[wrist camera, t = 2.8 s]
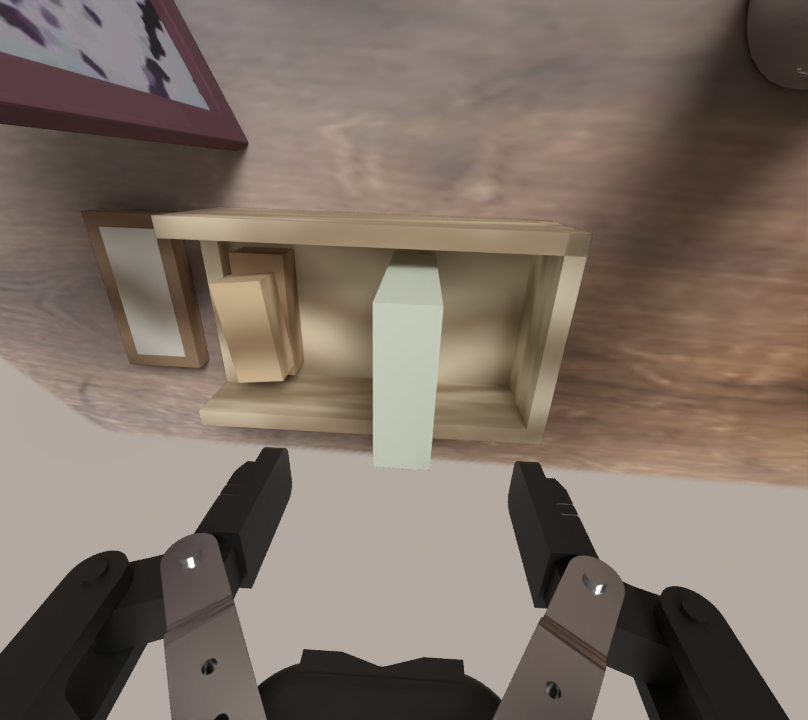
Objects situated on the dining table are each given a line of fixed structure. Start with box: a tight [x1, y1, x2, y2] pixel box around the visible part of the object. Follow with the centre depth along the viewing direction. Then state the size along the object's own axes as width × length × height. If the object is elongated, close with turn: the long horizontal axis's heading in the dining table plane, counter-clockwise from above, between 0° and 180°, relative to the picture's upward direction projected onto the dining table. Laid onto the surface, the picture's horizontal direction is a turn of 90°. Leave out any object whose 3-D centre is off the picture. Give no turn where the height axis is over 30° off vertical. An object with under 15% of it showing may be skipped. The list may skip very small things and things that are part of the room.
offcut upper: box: [209, 272, 294, 383], centre depth 26 cm, size 7×3×2 cm, turn 4°
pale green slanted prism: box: [373, 253, 443, 470], centre depth 23 cm, size 9×3×12 cm, turn 178°
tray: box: [151, 207, 592, 444], centre depth 26 cm, size 14×24×7 cm, turn 88°
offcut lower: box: [228, 247, 304, 375], centre depth 28 cm, size 9×4×2 cm, turn 178°
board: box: [81, 210, 209, 368], centre depth 29 cm, size 12×6×2 cm, turn 178°
